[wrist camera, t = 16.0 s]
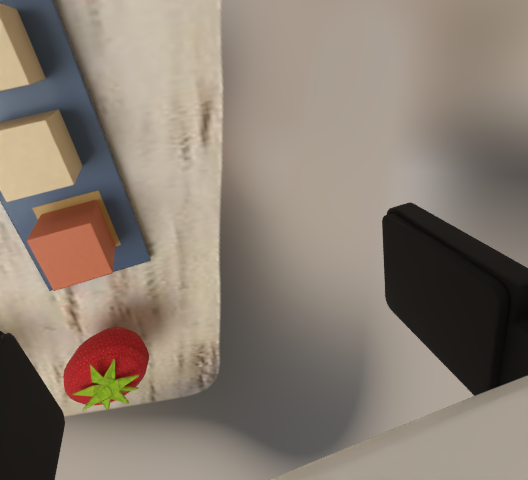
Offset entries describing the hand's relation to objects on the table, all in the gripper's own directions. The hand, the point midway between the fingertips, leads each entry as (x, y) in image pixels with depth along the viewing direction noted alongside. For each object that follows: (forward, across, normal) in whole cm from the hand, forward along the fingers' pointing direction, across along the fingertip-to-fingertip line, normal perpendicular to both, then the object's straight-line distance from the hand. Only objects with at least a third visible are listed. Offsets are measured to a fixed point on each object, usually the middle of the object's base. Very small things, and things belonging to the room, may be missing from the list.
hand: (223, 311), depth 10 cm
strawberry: (+26, +11, +18) cm, 34 cm away
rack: (+26, +9, 0) cm, 28 cm away
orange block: (+25, +9, +6) cm, 27 cm away
